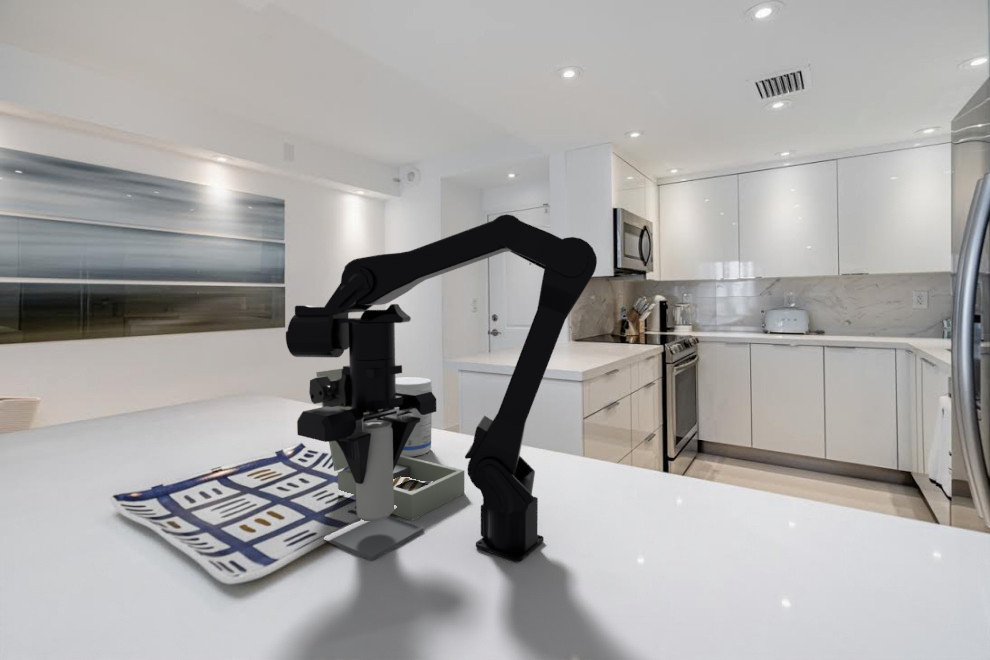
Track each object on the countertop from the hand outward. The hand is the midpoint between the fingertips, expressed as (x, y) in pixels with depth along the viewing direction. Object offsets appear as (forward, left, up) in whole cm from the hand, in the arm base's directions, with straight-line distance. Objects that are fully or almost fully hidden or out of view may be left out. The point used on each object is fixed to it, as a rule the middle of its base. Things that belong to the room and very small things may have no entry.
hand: (374, 477), depth 64 cm
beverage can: (0, 0, -5) cm, 5 cm away
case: (+7, -12, -8) cm, 16 cm away
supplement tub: (+22, -29, -8) cm, 37 cm away
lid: (+17, -12, +4) cm, 21 cm away
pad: (0, 0, -8) cm, 8 cm away
